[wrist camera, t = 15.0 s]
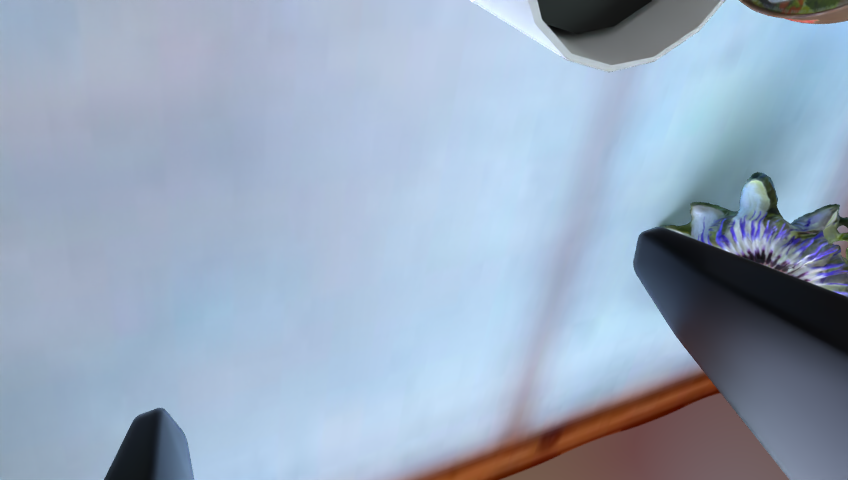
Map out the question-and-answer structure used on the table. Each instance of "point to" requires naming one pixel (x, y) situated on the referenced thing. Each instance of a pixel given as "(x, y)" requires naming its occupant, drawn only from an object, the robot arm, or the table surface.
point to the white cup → (606, 27)
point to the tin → (802, 10)
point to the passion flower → (775, 235)
